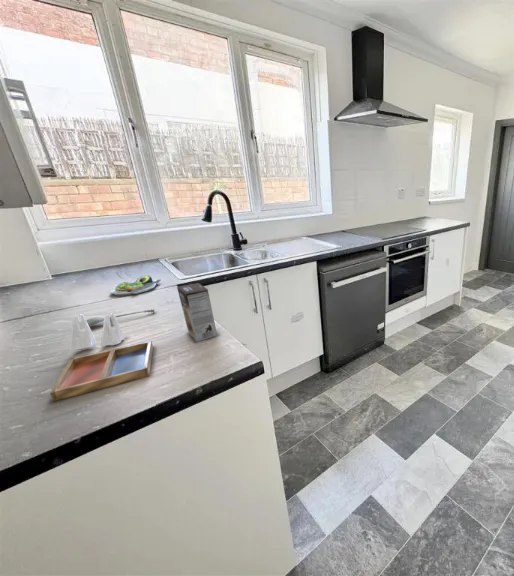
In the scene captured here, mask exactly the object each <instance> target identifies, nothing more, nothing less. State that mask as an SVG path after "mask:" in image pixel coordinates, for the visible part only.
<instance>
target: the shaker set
mask: <svg viewBox="0 0 514 576" xmlns="http://www.w3.org/2000/svg"><path fill="white" fill-rule="evenodd" d="M115 316H116V315H115V313H114V312H110V313H109V314H105V316H104V321H103V324H102V325H103V326H102V327H103V328H102V333H101V340H100V346H101V347H106V346H114V345H115V346H116V345H119V344H120V343H122V341H125V334H124V333H123V330H122V328H121V326H120V323H119V321H118V319H117V317H115ZM86 320H87V319H86V318H85V316H84V315H83V314H82V313H81V314H78V316H77V315H75V316H74V317H73V319H72V322H71V323H72V325H71V331H70V339H69V346H68V350H69V351H75V352H76V351H82V350H83V351H84V350H87V349H91V348H92V347H93V345H95V344H96V343H97V340H96V337H95V336H94V333H93V331H92V329H91V326H90V327H89V325H88V323H87V321H86Z"/></svg>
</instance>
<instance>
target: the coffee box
mask: <svg viewBox="0 0 514 576" xmlns="http://www.w3.org/2000/svg"><path fill="white" fill-rule="evenodd" d="M176 289H177V293H178V296H179V301H180V305H181V309H182V312H183V317H184V320H185V325H186V328H187V331H188V334H189V335H190V337H192V338H193V340H194V341H195V342H196V343H198V342H202V341H204V340H208V339H210V338H213V337H217V336H218V331H217V328H216V323H215V317H214V312H213V307H212V302H211V298H210V293H209V289H208V288H206V287H205V286H203V285H202V284H201V283H200V282H196V283H191V284H190V283H189V284H184V285H179V286H177V287H176Z"/></svg>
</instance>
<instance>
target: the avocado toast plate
mask: <svg viewBox="0 0 514 576" xmlns="http://www.w3.org/2000/svg"><path fill="white" fill-rule="evenodd" d="M161 281H162V279H157V280H156V279H153V278H152V277H151V275H148V274H147V275H142V276H140V277H138V278H137V279H136V280H135V281H129V282H128V281H127V282H126V281H124V282H122V283H118V284H116V285H114V287H113V288H112V289H111V290H110V291H109V294H111V295H115V296H119V297H125V296H131V295H138V294H142V293H145V292H148V291H151V290H153V289H154V288H155V287H156V286H157V285H158V284H159V282H161Z"/></svg>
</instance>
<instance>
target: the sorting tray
mask: <svg viewBox="0 0 514 576" xmlns="http://www.w3.org/2000/svg"><path fill="white" fill-rule="evenodd" d="M153 353H154V345H153V341H152V340H148V341H144V342H140V343H135V344H130V345H126V346H121V347H116V348H112V349H108V350H107V349H106V350H103V351H98V352H93V353H90V354H85V355H82V356H81V355H80V356H75V357H72V358H70V359H68V360H69V361H68V362H67V364H66V366H65V367H64V369H63V370H62V371H61V374H60V376H59V377H58V379H57V380H56V382H55V384H54V385H53V387H52V389H51V391H50V392H49V394H50V397H51V399H52V401H53V402H58V401H61V400H66V399H68V398H73V397H76V396H80V395H83V394H87V393H91V392H94V391H98V390H103V389H106V388H109V387H110V388H111V387H113V386H117V385H121V384H124V383H128V382H129V383H130V382H131V381H136V380H139V379H144V378H147V377H150V374H151V368H152V359H153Z"/></svg>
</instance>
